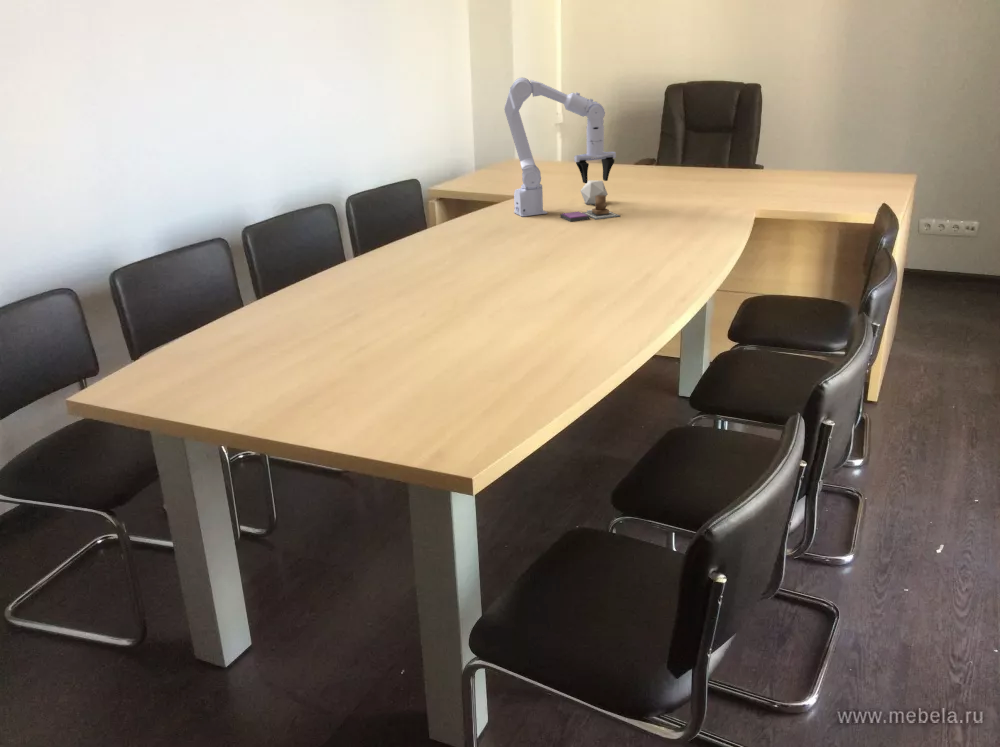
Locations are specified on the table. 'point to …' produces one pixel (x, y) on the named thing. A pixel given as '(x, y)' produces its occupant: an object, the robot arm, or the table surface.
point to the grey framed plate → (589, 213)
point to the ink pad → (574, 216)
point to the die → (593, 191)
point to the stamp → (600, 206)
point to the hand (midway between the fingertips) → (595, 181)
